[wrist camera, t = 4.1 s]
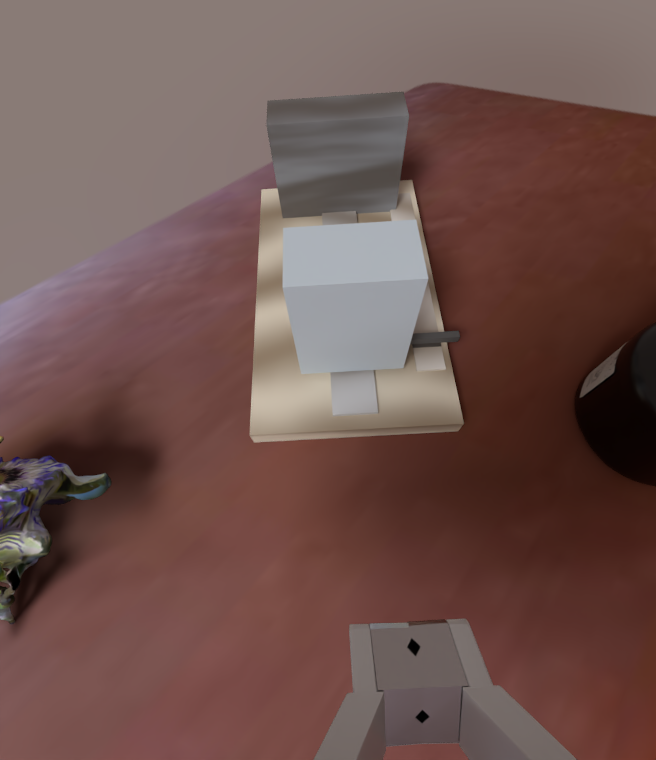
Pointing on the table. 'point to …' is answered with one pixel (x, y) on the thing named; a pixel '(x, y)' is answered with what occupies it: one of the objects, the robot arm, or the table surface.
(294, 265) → the gauge slider
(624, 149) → the table surface
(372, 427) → the bench
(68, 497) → the passion flower
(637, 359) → the ink bottle
